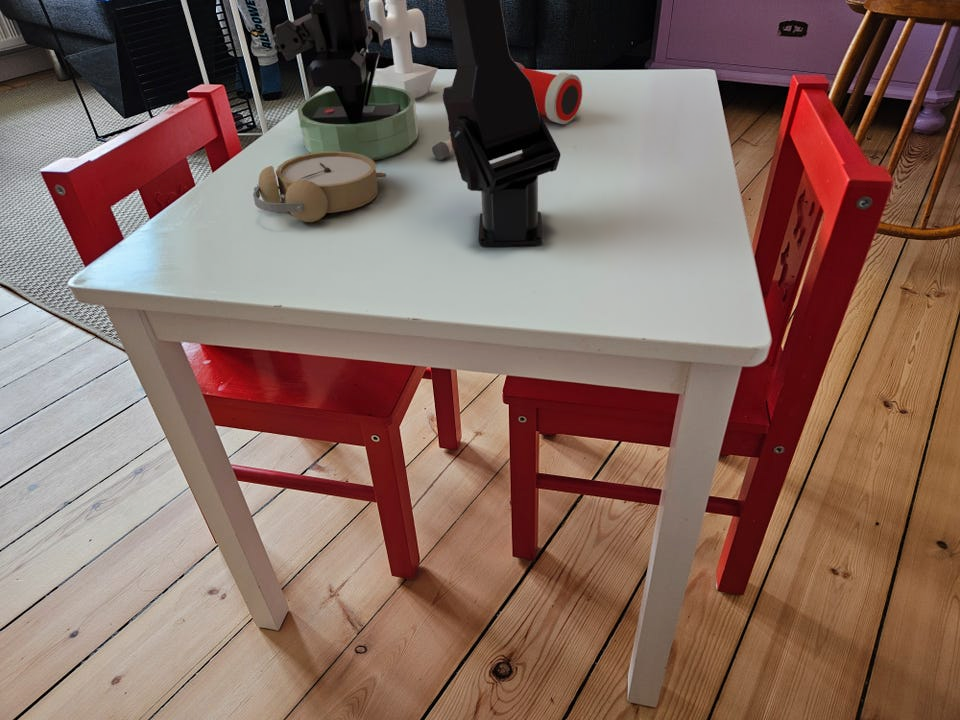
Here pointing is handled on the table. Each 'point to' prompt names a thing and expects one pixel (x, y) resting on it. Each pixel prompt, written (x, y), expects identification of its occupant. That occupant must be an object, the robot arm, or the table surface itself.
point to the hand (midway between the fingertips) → (359, 119)
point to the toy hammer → (542, 100)
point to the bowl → (361, 125)
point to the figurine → (402, 46)
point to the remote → (369, 114)
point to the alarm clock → (318, 184)
